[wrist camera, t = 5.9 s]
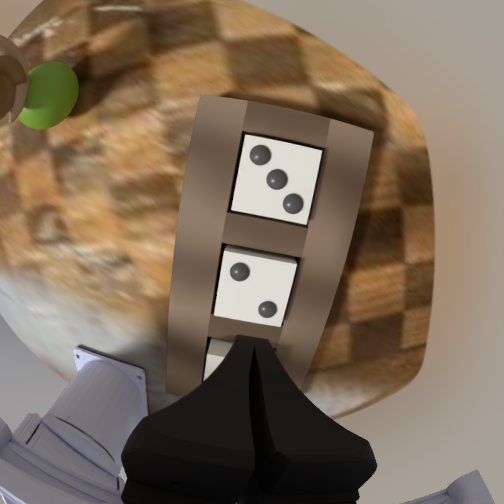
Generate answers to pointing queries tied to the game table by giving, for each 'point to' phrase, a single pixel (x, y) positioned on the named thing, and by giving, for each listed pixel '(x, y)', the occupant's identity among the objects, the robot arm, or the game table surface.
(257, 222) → the key board
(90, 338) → the game table surface
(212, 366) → the tile one pip
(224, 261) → the tile two pips
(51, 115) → the snail figurine
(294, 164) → the tile three pips
